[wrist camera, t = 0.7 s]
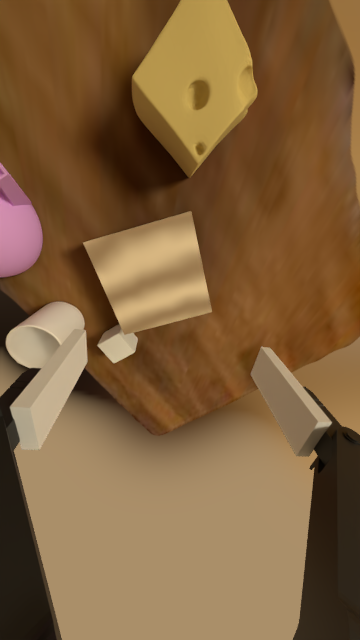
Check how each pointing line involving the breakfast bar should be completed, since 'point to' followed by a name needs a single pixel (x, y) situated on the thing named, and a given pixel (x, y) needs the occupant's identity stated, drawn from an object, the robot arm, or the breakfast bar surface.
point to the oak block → (152, 273)
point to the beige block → (117, 343)
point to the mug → (43, 333)
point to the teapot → (17, 228)
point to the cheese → (195, 81)
